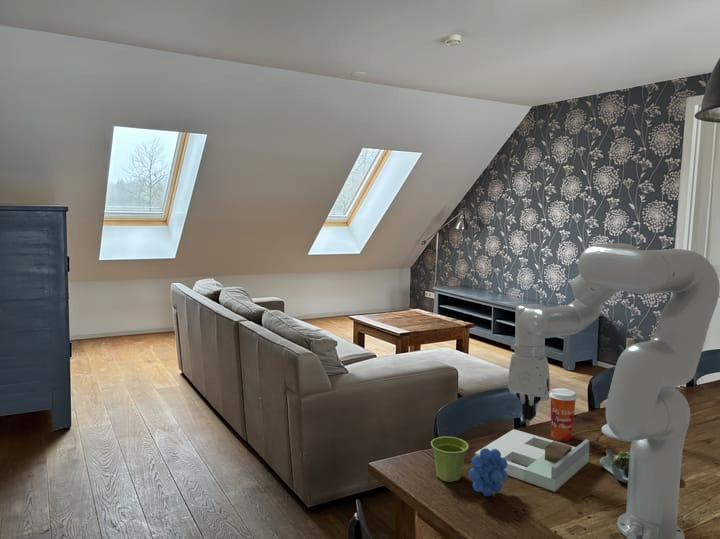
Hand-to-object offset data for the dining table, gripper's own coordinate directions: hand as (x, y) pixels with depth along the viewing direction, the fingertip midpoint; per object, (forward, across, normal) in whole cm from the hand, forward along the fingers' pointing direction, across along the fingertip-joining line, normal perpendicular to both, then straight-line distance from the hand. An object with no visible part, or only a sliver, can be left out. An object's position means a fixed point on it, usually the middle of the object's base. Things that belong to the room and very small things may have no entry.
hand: (528, 418), depth 150 cm
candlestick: (+12, +13, +38) cm, 42 cm away
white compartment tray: (+12, +1, 0) cm, 12 cm away
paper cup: (+12, 0, +22) cm, 26 cm away
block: (+9, +8, +1) cm, 12 cm away
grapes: (+13, +2, -24) cm, 27 cm away
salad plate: (+13, +24, +14) cm, 30 cm away
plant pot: (+12, -11, -22) cm, 27 cm away
